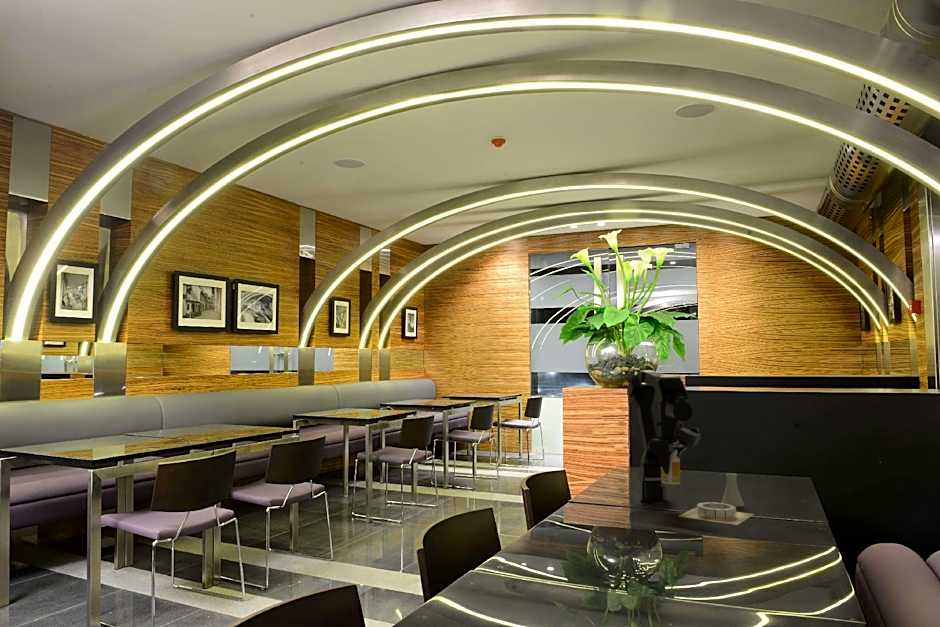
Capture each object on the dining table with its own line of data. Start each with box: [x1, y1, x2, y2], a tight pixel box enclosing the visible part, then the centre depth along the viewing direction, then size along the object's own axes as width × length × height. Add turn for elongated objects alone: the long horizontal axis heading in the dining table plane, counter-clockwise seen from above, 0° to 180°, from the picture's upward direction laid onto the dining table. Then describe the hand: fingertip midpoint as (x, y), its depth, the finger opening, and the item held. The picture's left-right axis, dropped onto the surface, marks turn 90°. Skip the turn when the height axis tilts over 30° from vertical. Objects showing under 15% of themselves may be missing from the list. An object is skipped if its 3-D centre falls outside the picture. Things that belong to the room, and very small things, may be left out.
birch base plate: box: [677, 506, 755, 526], centre depth 186 cm, size 16×16×1 cm
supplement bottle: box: [661, 449, 681, 485], centre depth 195 cm, size 5×5×10 cm
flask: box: [720, 472, 745, 508], centre depth 201 cm, size 7×7×10 cm
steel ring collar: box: [696, 501, 737, 519], centre depth 186 cm, size 10×10×2 cm
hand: (670, 472), depth 195 cm, fingers closed on supplement bottle, 5 cm apart
